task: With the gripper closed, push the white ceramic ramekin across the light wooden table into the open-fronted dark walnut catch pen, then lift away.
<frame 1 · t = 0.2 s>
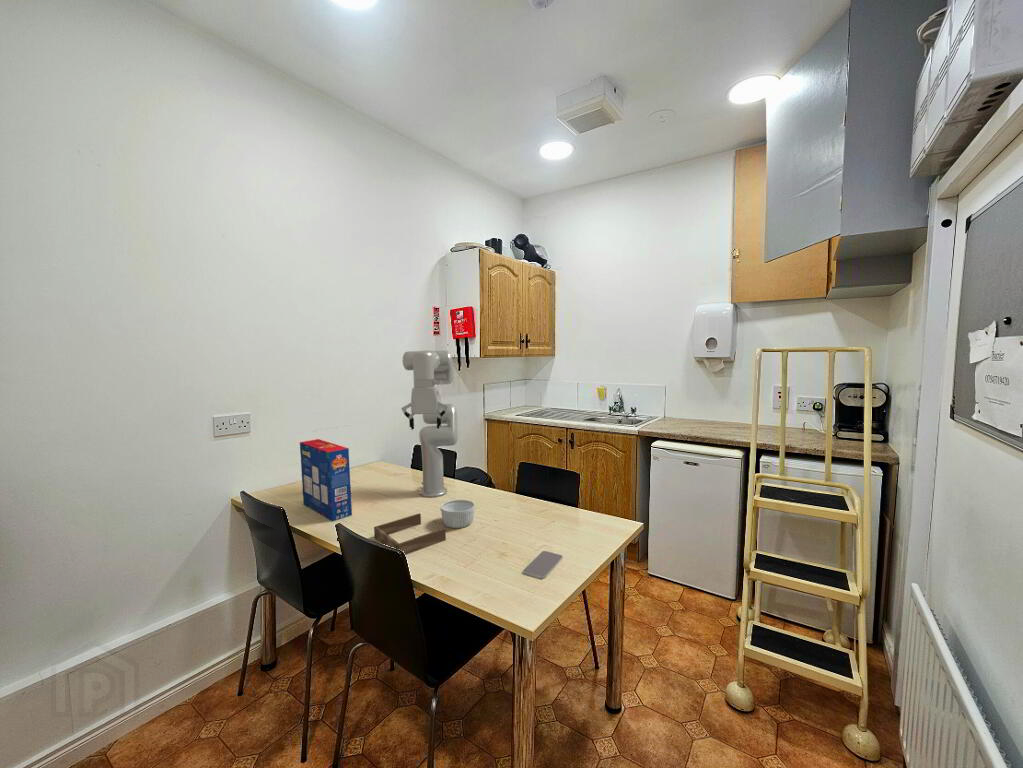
hand: (425, 428, 158), 37 cm above the table, tool pointing down, fingers open, 9 cm apart
blue cardboard box: (326, 510, 175), on the table
ramekin: (458, 523, 160), on the table
smartphone: (543, 566, 128), on the table
catch pen: (411, 538, 147), on the table
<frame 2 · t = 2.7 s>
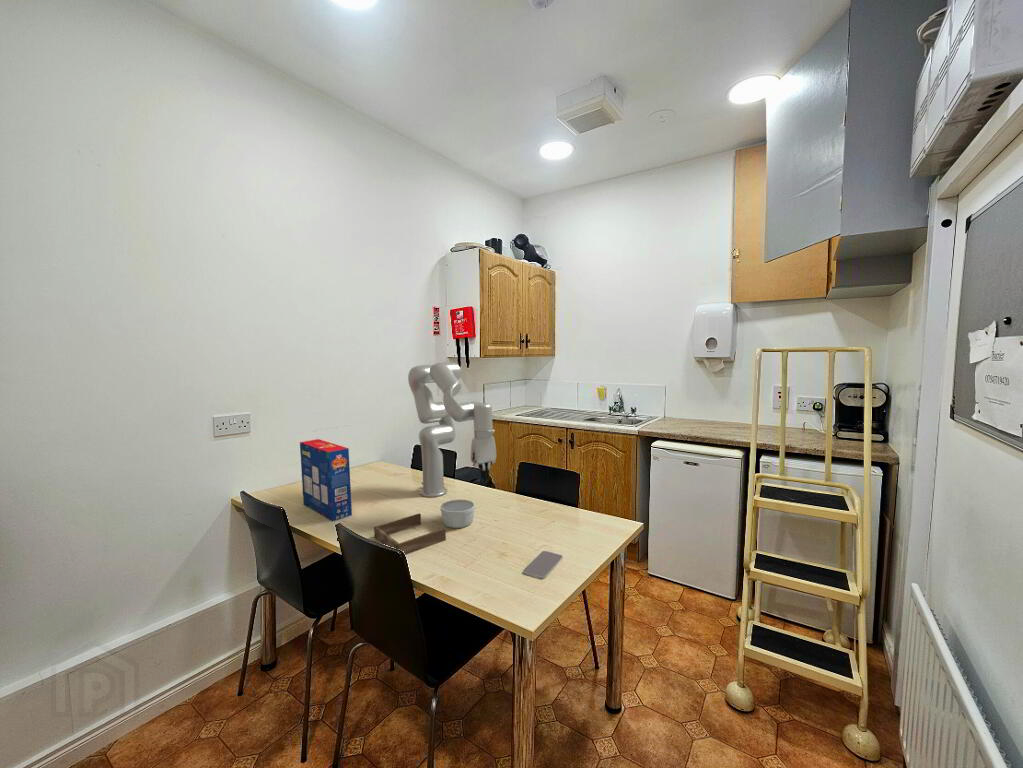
hand: (485, 478, 167), 14 cm above the table, tool pointing down, fingers closed
nothing on the table moved.
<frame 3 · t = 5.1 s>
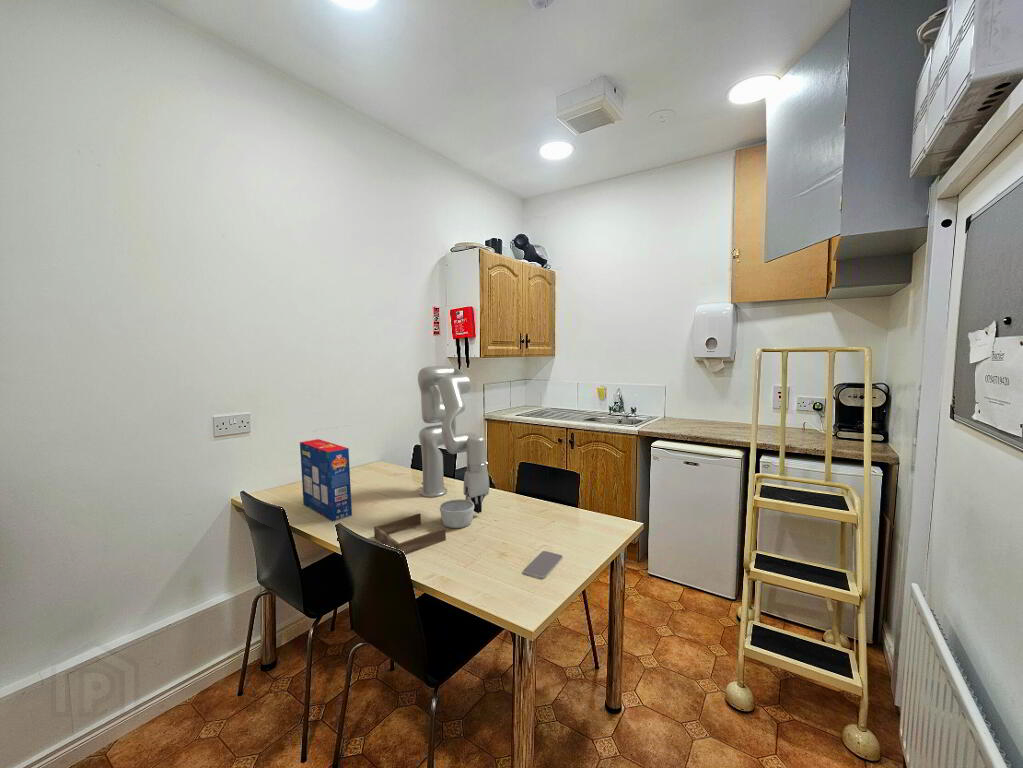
hand: (477, 511, 166), 2 cm above the table, tool pointing down, fingers closed
ramekin: (457, 523, 160), on the table, touching gripper
everything else where it was.
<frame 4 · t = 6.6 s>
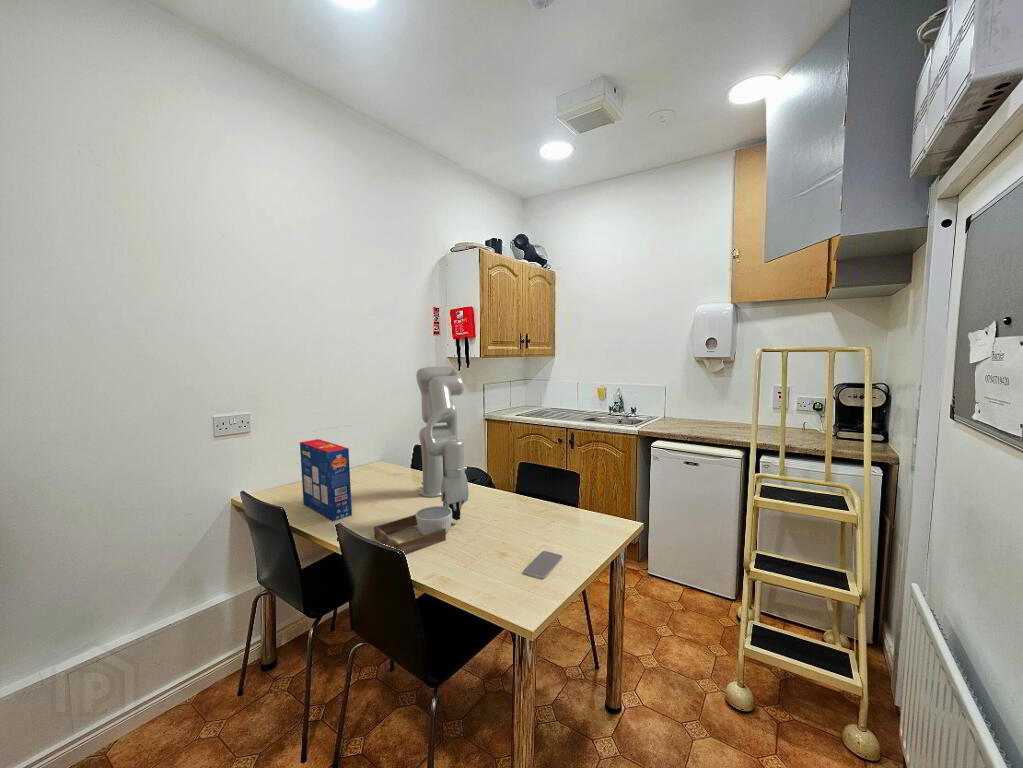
hand: (456, 518, 159), 2 cm above the table, tool pointing down, fingers closed
ramekin: (434, 531, 153), on the table, touching gripper
everything else where it was.
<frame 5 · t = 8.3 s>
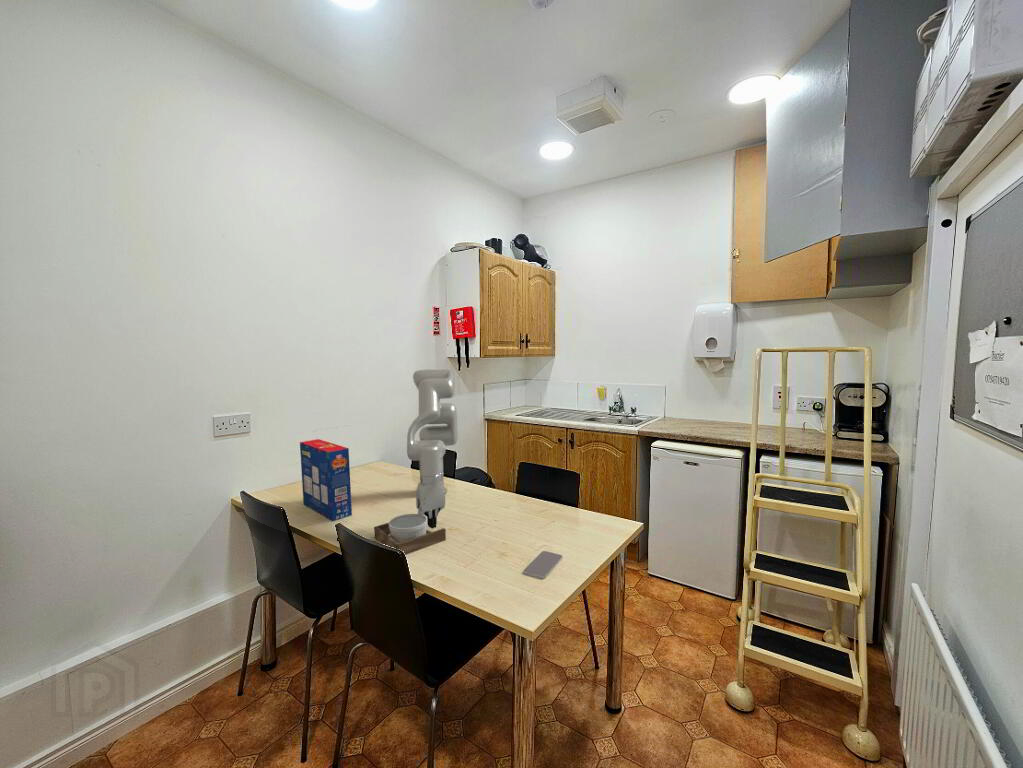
hand: (432, 526, 152), 2 cm above the table, tool pointing down, fingers closed
ramekin: (409, 540, 146), on the table, touching gripper
everything else where it was.
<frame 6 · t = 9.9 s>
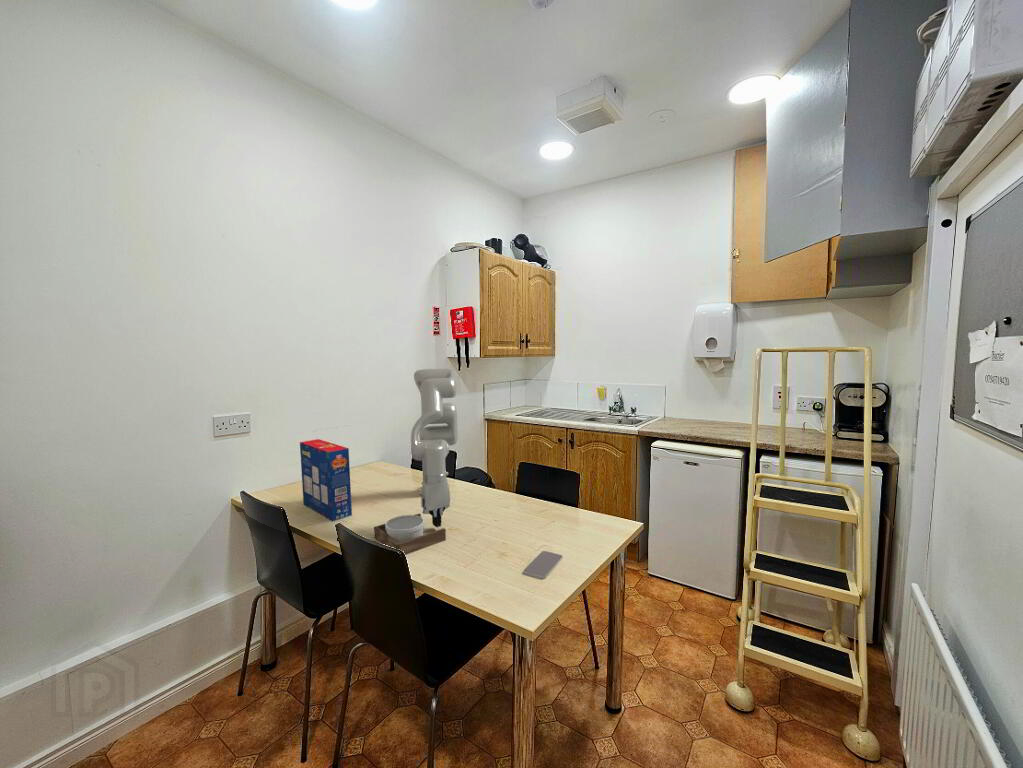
hand: (437, 525, 154), 1 cm above the table, tool pointing down, fingers closed
ramekin: (405, 541, 145), on the table
everything else where it was.
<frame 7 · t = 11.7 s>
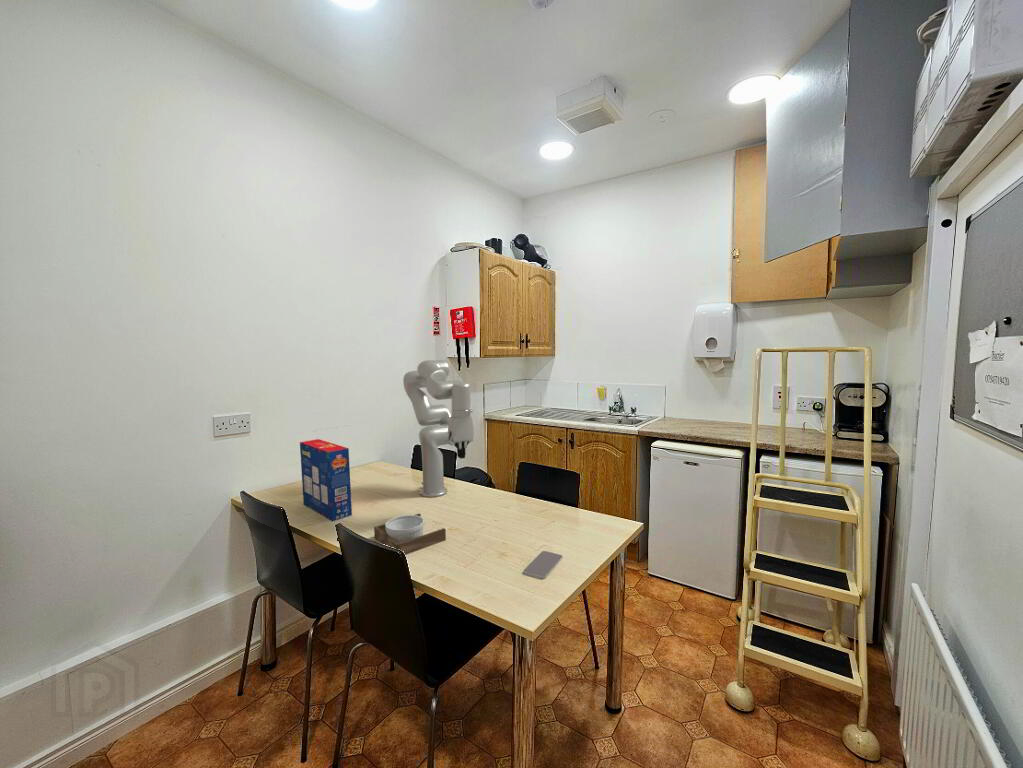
hand: (461, 457, 168), 23 cm above the table, tool pointing down, fingers closed
nothing on the table moved.
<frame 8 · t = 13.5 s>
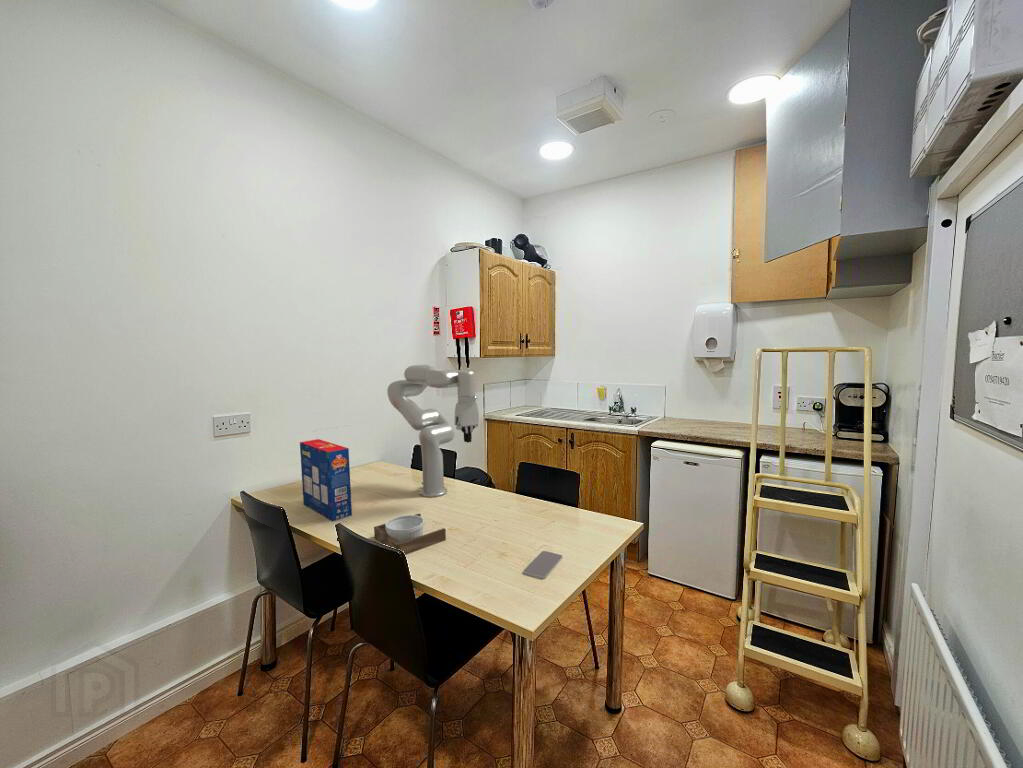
hand: (467, 441, 178), 27 cm above the table, tool pointing down, fingers closed
nothing on the table moved.
at the end: ramekin inside the target area on the catch pen (0.9 cm from its centre), point 0.0 cm above the catch pen's base; ramekin tilted 0°; ramekin moved 22.3 cm from its start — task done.
